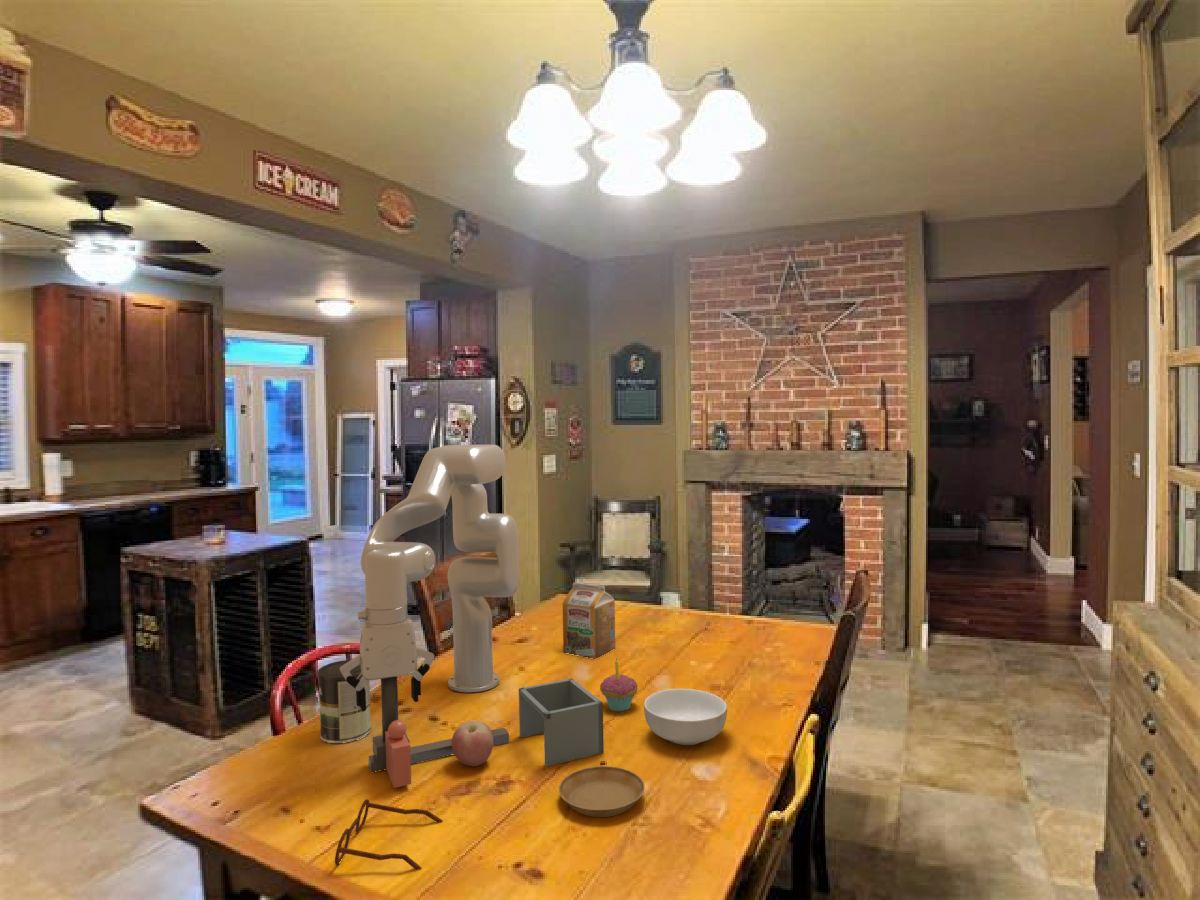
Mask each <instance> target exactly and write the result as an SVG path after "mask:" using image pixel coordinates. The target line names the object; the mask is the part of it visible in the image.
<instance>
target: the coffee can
mask: <svg viewBox="0 0 1200 900" xmlns="http://www.w3.org/2000/svg"><path fill="white" fill-rule="evenodd" d="M350 660H351V659H346V660H337V661H333V662H330V663H327V664H325V665H322V666H321V667H320V668H318V670H317V676H318V694H319V695H318V697H319V698H318V699H319V720H320V722H319V725H320V729H319V730H320V736H319V737H320V740H321V741H322V740H323V741H322V742H323V743H326V742H327V744H330V743H343V742H349V741H354V740H357V739H360V738H362V737H364V736H366V735H367V734H368V733H369V732H370V731H371V732H372V725H371V721H372V720H371V688H370V685H371V683H370V680H368V682H367V683H366V684H365V686H364V688H365V691H366V710H365V711H363V712H362V710H361V708H360V706H357V703H356V689H355V688H354V687H353V686H351V685H350V684H349V683H347V681H346V679H345V678H344V676H343V675H342V673H341V671H340V667H341V666H343V665H344V664H346V663H347V662H349V661H350ZM350 674H351V675H352V676H353V677H355V678H356V679H357V678H358V676H359V675H360V674H361V671H360V664H359V665H358V666H356V667H355V668H353V669H352V670H350ZM371 732H370V733H371ZM370 733H369V734H370ZM369 734H368V735H369ZM368 735H367V736H368ZM367 736H366V737H367ZM364 738H365V737H364ZM362 739H363V738H362ZM360 740H361V739H360ZM357 741H358V740H357ZM354 742H355V741H354Z"/></svg>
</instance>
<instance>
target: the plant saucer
mask: <svg viewBox="0 0 1200 900" xmlns="http://www.w3.org/2000/svg"><path fill="white" fill-rule="evenodd" d="M645 789H646V788H645V783H644V780H643V779H642V777H640V776H639V775H638V774H637V773H635V772H633V771H631V770H629V769H625V768H623V767H617V766H612V765H611V766H608V765H605V766H604V765H598V766H590V767H585V768H582V769H578V770H576V771H573V772H571V773H569V774H568V775H567V776H564V778H563V779H562V780H561V782H560V783H559V786H558V792H559V796H560V797H561V798H562V800H563V801H564V802H565V803H566V804H567V805H568V806H569V807H570V808H571V809H573V810H574V811H576V812H577V813H580V814H582V815H585V816H589V817H593V818H606V817H607V818H609V817H613V816H619V815H620V814H623V813H625V812H627V811H628V810H630V809H631V808H632V807H633V806H634V805H635V804H636V803H637V802H638V801H640V798H641V797H642V796H643V794H644V793H645Z"/></svg>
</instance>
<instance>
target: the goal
mask: <svg viewBox="0 0 1200 900" xmlns="http://www.w3.org/2000/svg"><path fill="white" fill-rule="evenodd" d="M518 711H519V713H518V719H519V720H518V721H519V737H520V738H527V737H530V736H535V735H539V734H540V735H541V734H543V740H544V741H543V745H544V748H543V749H544V752H543V753H544V766H545V767H550V766H556V765H559V764H562V763H567V762H571V761H575V759H576V760H580V759H583V757H584V758H589V757H592V756H596V755H599V754H600V753H601V754H604V753H605V751H604V750H605V749H604V743H605V742H604V702H603V701H602V700H600V699H599V698H597V697H596V696H595V695H594V694H593V693H591V692H590V691H589V690H587V689H586V687H584V686H582V684H580V683H578V681H576V680H575V679H574V678H571V677H570V678H567V679H562V680H555V681H551V682H545V683H540V684H534V685H529V686H524V687H519V688H518Z"/></svg>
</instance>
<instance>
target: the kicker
mask: <svg viewBox="0 0 1200 900" xmlns="http://www.w3.org/2000/svg"><path fill="white" fill-rule="evenodd" d="M398 687H399V685H398V676H397V677H391V678H385V679H380V691H381V692H380V695H381V696H380V698H381V700H380V701H381V723H382V724H381V726H382V727H381V731H382V732H381V733H382V735H376V736H372V753H373V755H374V756H375V759H376V761H377V763H381V762H386V769H387V770H386V772H387V774H388V776H389V778H390V781H391V784H392V787H393V788H399V787H402V786H408V785H411V784H412V767H411V766H412V764H411V755H410V747H411V744H410V743H411V742H410V738H409V737H408V735H407V733H406V732H407V726H406V723H405V722H404V721H402V720H399V697H398V696H399V690H398Z"/></svg>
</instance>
